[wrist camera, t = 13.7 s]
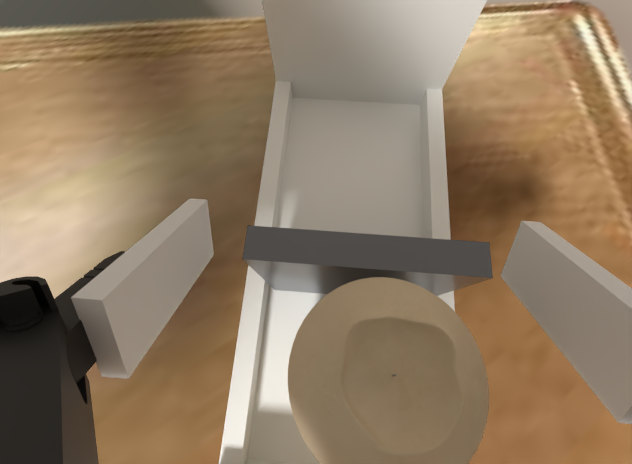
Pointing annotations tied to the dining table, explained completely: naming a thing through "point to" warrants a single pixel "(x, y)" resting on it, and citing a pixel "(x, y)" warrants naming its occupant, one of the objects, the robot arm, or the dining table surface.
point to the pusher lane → (340, 172)
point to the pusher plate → (362, 259)
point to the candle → (387, 377)
